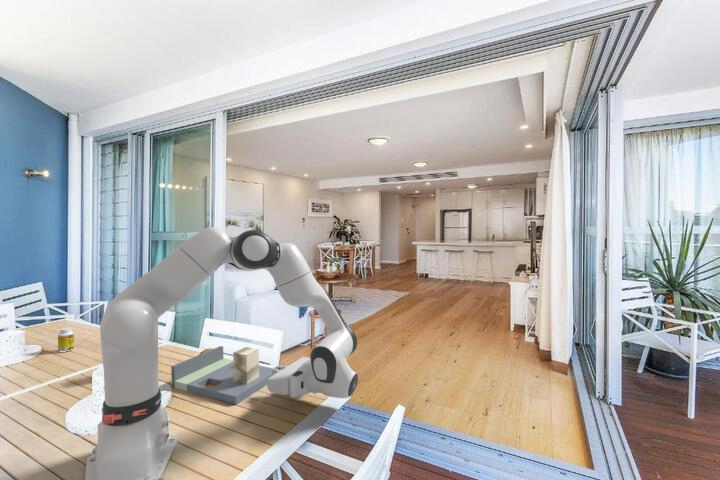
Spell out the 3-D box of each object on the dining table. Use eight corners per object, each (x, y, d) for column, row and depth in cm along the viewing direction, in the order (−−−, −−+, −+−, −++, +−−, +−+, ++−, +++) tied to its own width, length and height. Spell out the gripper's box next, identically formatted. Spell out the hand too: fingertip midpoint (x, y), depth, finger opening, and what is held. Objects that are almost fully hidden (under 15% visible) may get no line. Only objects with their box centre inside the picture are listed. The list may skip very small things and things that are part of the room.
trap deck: (279, 376, 126) (279, 356, 125) (236, 404, 106) (236, 381, 105) (220, 364, 137) (220, 345, 137) (171, 387, 117) (171, 366, 117)
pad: (234, 366, 134) (234, 360, 134) (187, 391, 114) (186, 384, 114) (223, 364, 137) (223, 358, 137) (174, 388, 117) (174, 381, 117)
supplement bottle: (69, 352, 152) (68, 329, 152) (55, 353, 151) (54, 330, 151) (77, 348, 158) (76, 326, 157) (63, 349, 156) (62, 327, 156)
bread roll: (197, 364, 138) (197, 355, 138) (199, 356, 146) (199, 347, 146) (219, 361, 141) (218, 352, 141) (219, 354, 149) (219, 345, 149)
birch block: (259, 376, 120) (258, 349, 119) (247, 384, 114) (246, 355, 114) (245, 374, 122) (245, 346, 122) (233, 381, 116) (233, 352, 116)
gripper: (325, 355, 117) (292, 350, 122) (290, 380, 98) (253, 372, 104) (325, 373, 117) (292, 367, 123) (291, 401, 98) (253, 392, 104)
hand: (274, 369), depth 113 cm, fingers closed
